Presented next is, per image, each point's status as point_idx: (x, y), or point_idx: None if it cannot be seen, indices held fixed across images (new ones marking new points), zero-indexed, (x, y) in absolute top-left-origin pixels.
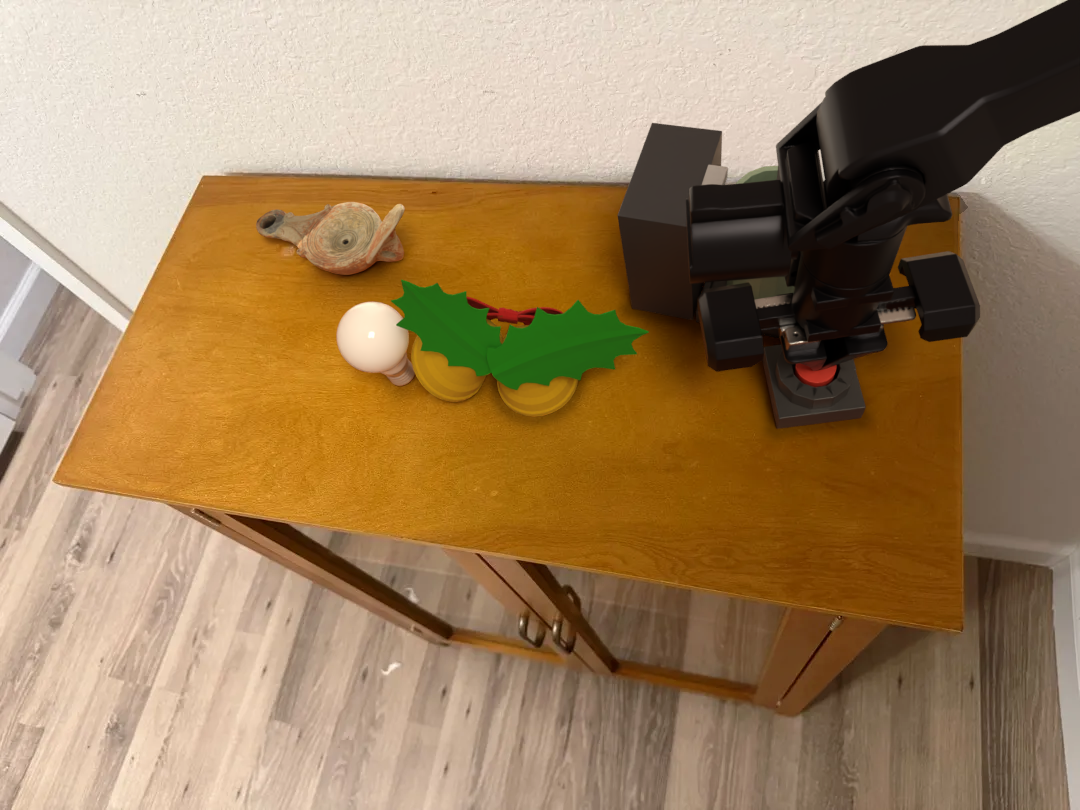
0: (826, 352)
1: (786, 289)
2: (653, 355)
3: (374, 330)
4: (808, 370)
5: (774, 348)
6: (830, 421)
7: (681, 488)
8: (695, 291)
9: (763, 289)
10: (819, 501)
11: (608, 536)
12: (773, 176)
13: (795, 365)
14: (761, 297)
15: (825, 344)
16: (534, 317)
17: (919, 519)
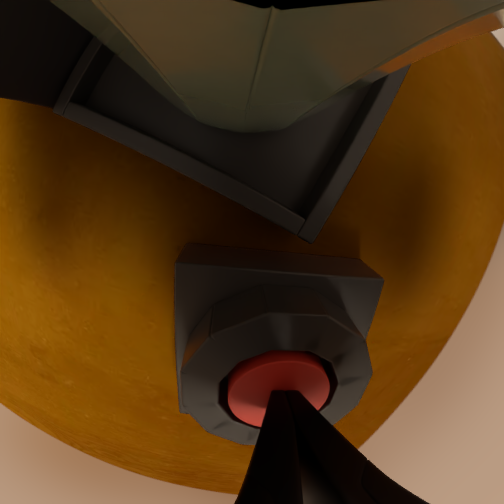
0: (302, 491)
1: (292, 112)
2: (6, 187)
3: None
4: (256, 407)
5: (202, 274)
6: None
7: (61, 398)
8: (34, 71)
9: (192, 99)
10: (222, 451)
11: (14, 402)
12: None
13: (231, 377)
14: (197, 110)
15: (311, 488)
16: None
17: None
